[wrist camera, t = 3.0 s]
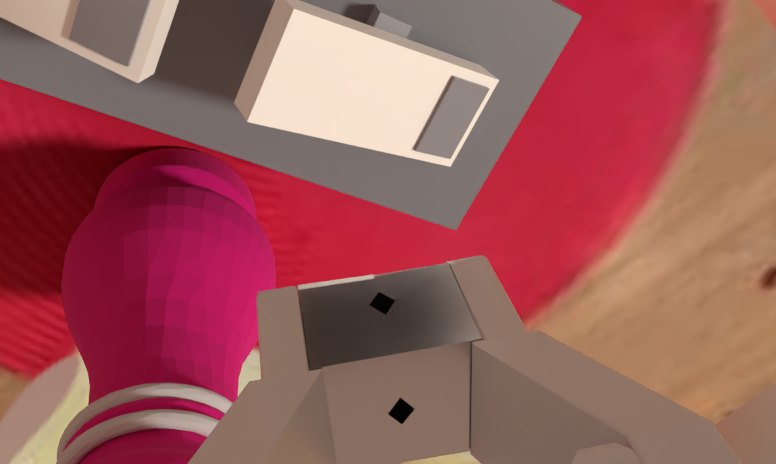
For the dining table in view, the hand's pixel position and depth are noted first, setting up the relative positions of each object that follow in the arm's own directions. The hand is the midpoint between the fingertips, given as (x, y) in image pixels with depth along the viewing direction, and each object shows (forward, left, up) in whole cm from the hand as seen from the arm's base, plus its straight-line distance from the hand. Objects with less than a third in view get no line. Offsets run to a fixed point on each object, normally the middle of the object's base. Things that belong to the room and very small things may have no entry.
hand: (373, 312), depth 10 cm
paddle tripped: (0, -2, -11) cm, 11 cm away
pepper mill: (-10, 0, -19) cm, 21 cm away
